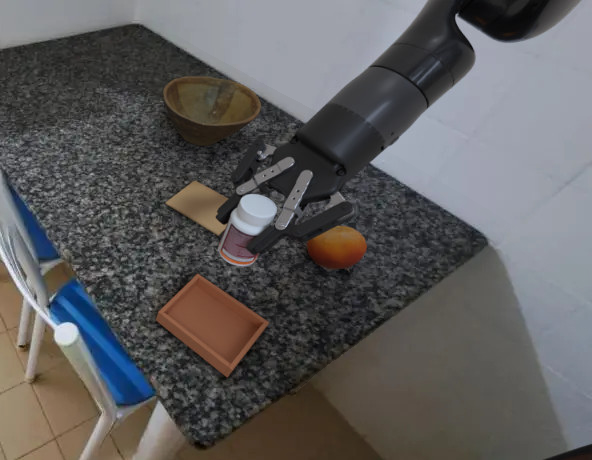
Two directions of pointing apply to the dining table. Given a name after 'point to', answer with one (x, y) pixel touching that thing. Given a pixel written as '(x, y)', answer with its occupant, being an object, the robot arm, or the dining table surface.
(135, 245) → the dining table surface
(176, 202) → the mat
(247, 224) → the pill bottle
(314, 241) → the fruit
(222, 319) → the tray
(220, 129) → the bowl
